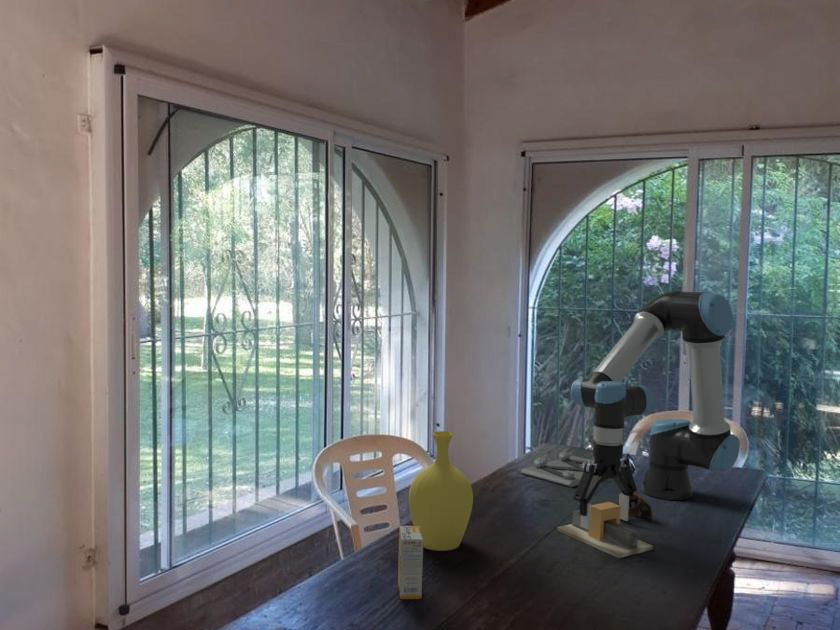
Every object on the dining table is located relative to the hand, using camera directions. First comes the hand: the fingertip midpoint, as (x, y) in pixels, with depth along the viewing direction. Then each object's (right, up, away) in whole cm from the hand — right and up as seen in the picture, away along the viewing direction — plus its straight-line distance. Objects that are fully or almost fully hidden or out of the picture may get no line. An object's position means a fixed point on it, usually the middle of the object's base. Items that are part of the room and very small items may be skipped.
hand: (604, 523), depth 208 cm
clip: (0, -3, 0) cm, 3 cm away
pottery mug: (+13, -4, +18) cm, 23 cm away
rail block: (0, -4, 0) cm, 4 cm away
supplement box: (-50, -6, -35) cm, 61 cm away
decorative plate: (+4, 0, +65) cm, 65 cm away
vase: (-43, -4, -6) cm, 43 cm away
